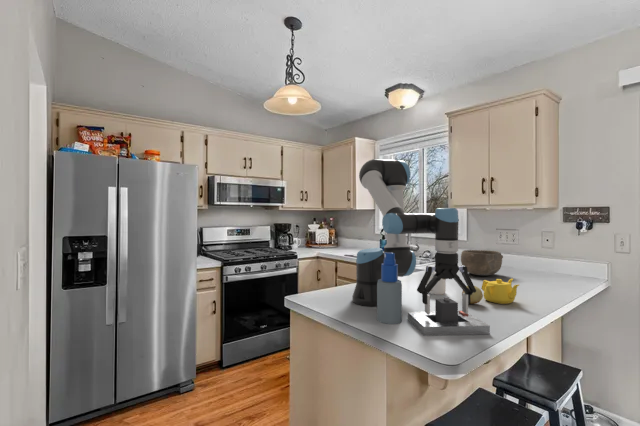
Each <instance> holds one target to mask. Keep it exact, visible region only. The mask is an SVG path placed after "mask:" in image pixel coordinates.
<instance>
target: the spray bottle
mask: <svg viewBox="0 0 640 426" xmlns="http://www.w3.org/2000/svg"><path fill="white" fill-rule="evenodd" d="M402 292H403V283H402V280H400V279H399V277H398V264H396V260H395V253H392V252H385V253H384V263H383V264H381V279H379V280H378V282H377V306H376V320H377V321H378V322H379V323H381V324H386V325H396V324H400V323H402V321H403V319H402V316H403V314H402V312H403V307H402V304H403V293H402Z"/></svg>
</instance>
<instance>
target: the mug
mask: <svg viewBox="0 0 640 426" xmlns="http://www.w3.org/2000/svg"><path fill="white" fill-rule="evenodd" d="M435 274H436V272H435V270H434V271H433V273H432V274H431V276H430V278H429V280H428V282H427V284H428V283H429V282H430V281H431V279H432V278H433V276H434V275H435ZM446 280H447V279H442V278H441V280H440V281H438V282H437V284H436V285H435V286H434V287H433V288H432V290H431V291H430V292H429V293H428V294H430V295H440V296H442V295H444V294H446V290H447V289H446V286H447V285H446V282H447V281H446ZM427 284H426V285H427Z"/></svg>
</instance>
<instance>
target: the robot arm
mask: <svg viewBox="0 0 640 426" xmlns="http://www.w3.org/2000/svg"><path fill="white" fill-rule="evenodd" d="M358 174H359V175H358V177H359V182H360V184H361V185H362V187H363V188H364V189H366V190H367V191H368V193H369V194H370V196H371V198H372V200H373V201H374V203H375V205H376V207H377V208H378V210H379V211H380V212H381V215H382V216H383V217H382V221H381V223H382V229H383V231H384V232H385V233H386V244H385V245H384V247H383V248H380V247H370V248H364V249H361V250H359V251H357V253H356V261H355V262H356V265H355V267H356V273H355V274H356V277H355V278H356V285H355V287H354V289H353V293H352V302H353V304H356V305H359V306H367V307H377V282H378V280H379V279H381V264H383V263H384V253H385V252H392V253H395V260H396V264H398V278H399V277H400V278H402V277H410V276H411V275H412V274H413V273H414V271H415V270H416V266H417V256H416V254H415V252H414V250H411V246H410V245H409V244H408V243H407V236H406V235H407V234H409V235H410V234H411V235H412V234H431V235H432V234H434V239H435V241H434V242H435V243H434V246H435V247H434V250H435V253H434V263H435V264H434V266H430V265H426V267H425V272H424V274H423V276H422V279H421V280H420V282H419V284H418V286H417V288H416V292H417V293H419V294H421V297H422V299H421V301H422V304H423V305H424V312H425V313H427V314H430V312H431V294H430V293H429V292H430V291H431V290H432V288H433V287H434V286H435V285H436V284H437V282H438V281H440V280H441V278H442V279H446V280H454V281H455V282H456V283H457V284H458V286H459V287H460V288H461V289H462V292H463V291H464V292H465V293H462V292H461V296H462V297H461V298H462V299H461V300H462V301H461V306H462V308H461V311H463V312H464V313H466V314H468V313H469V304H470V295H472V293H473V292H474V293H475V292H476V289H475V287H474V286H475V285H474V283H473V281H472V279H471V277H470V273H469V272H467V267H466V266H463V265H462V264H461V265H459V264H458V263H459V254H458V252H459V210H458V209H457V208H455V207H438V208H435V212H434V213H433V212H432V213H430V212H429V213H428V212H424V213H408V212H405V206H404V205H405V203H404V190H406V188H407V185H408V184H409V183H410V179H411V176H412V175H411V169H410V166H409V164H408V163H407V162H406V161H404V160H401V159H400V160H399V159H378V158H374V159H373V158H372V159H370V160H368V161H366V162H365V163H364V164H363V165H362V166H361V167H360V170H359V173H358ZM458 265H459V266H458ZM433 271H435V272H436V274H435V275H434V276H433V278H432V279H431V281H430V282H429V283H428V284H427V282H428V280H429V278H430V276H431V274H432V273H433ZM458 272H459V273H461V275H462V278H463V280H464V281H465V282H464V281H463V280H462V279H461V278H460V276H459V275H458ZM426 284H427V285H426ZM467 286H468V288H469V289H468V288H467Z"/></svg>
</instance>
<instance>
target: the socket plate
mask: <svg viewBox="0 0 640 426" xmlns="http://www.w3.org/2000/svg"><path fill="white" fill-rule="evenodd" d="M407 321H409V322H410V323H411V324H412V325H413V327H414V328H416V329H417V331H418V332H420V333H421V334H422V335H423V336H425V337H426V336H427V337H429V336H430V337H431V336H459V335H460V336H463V335H464V336H466V335H467V336H468V335H469V336H471V335H473V336H474V335H490V334H491V332H490V331H491V330H490V329H491V325H490V324H488V323H486V322H484V321H483V320H481V319H480V318H478V317H476V316H475V315H473V314H471V313H469V312H468V314H466V313H464V312H463V311H462V310H458V322H439V323H435V311H430V314H427V313H425V311H407Z"/></svg>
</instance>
